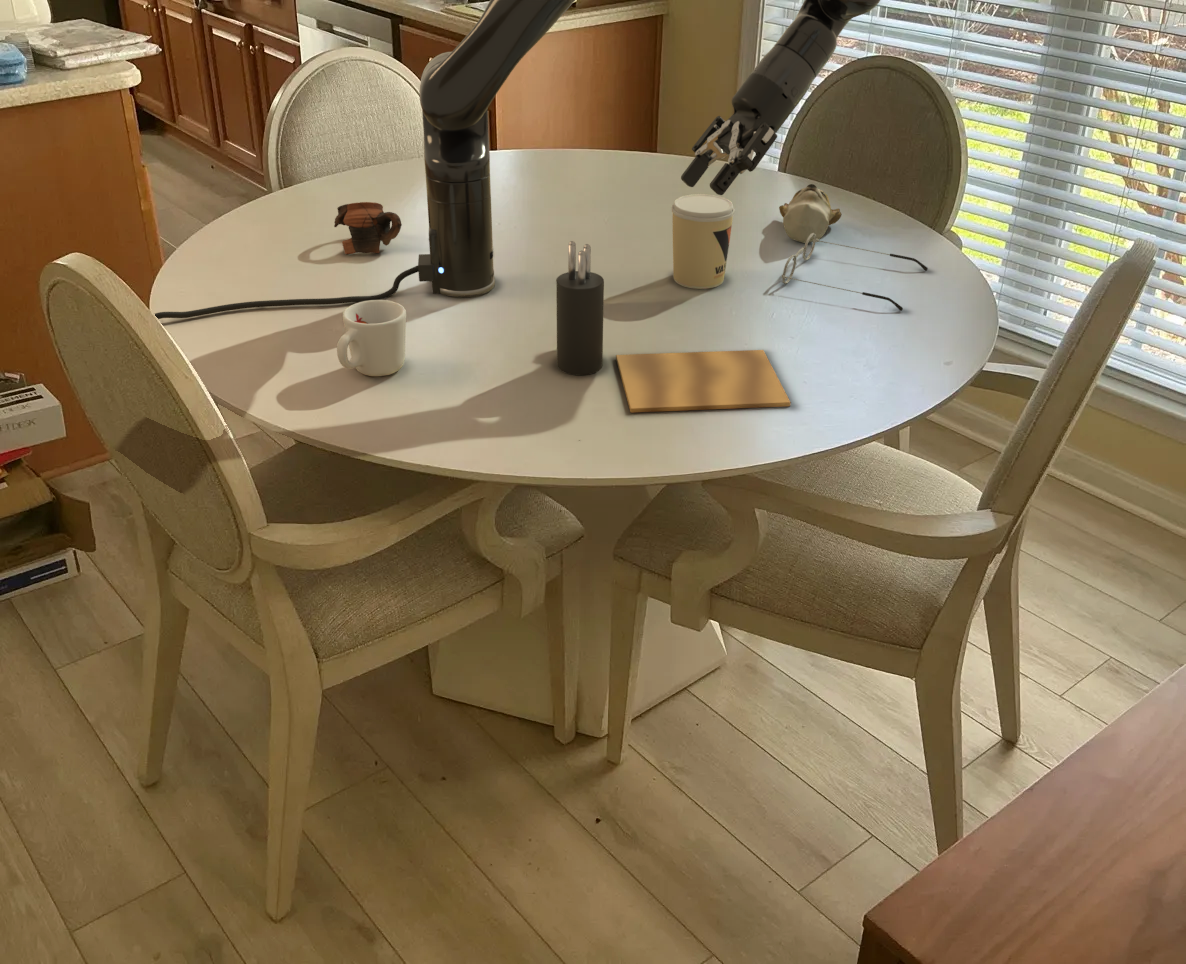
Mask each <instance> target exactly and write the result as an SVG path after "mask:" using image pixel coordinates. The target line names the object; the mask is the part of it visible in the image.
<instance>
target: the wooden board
mask: <svg viewBox="0 0 1186 964" xmlns="http://www.w3.org/2000/svg"><path fill="white" fill-rule="evenodd" d="M615 361H616V364H617V367H618V368H617V369H618V372H619V376H620V378H621V383H622V386H623V391H624V393H625V397H626V401H627V405H628V408H629V413H631V414H633V413H655V412H680V411H681V412H682V411H702V410H703V411H705V410H706V411H707V410H708V411H709V410H728V409H731V410H732V409H754V408H755V409H758V408H783V407H784V408H785V407H791V403H792V402H791V400H790V399H789V396H788V395H787V393H786V391H785V389H784V387H783V385H782V382H781V381H780V379H779V377H778V375H777V373H776V371H775V369H774V368H773V366H772V364H771V362H770V360H769V358H768V356H767V354H766V352H765V350H764V349H748V350H745V349H744V350H722V351H721V350H720V351H716V350H715V351H696V352H695V351H693V352H691V351H690V352H689V351H687V352H663V353H661V352H660V353H636V354H635V353H634V354H633V353H631V354H616V355H615Z"/></svg>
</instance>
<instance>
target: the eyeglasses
mask: <svg viewBox="0 0 1186 964" xmlns="http://www.w3.org/2000/svg"><path fill="white" fill-rule="evenodd" d="M812 236H813V242H812V245H811V249H810V251H809V253H808V255H807V249H808V244H809V243H810V242H809V240H810V238H811V237H812ZM819 242H821V243H825V244H831V245H836V246H840V247H846V248H851V249H855V250H861V251H865V252H872V253H876V254H881V255H882V254H883V255H887V256H889V257H892V258H898V259H904V260H907V261H912V262H914V263H917V264H918V265H919V266H920V268H922V270H924V271H925V272H927V271H928V269H929V268H928V267H927V266H926V265H925V264H923V263H922V262H920V261H919V260H918V259H916V258H914V257H910V256H905V255H901V254H894V253H886V252H880V251H874V250H870V249H866V248H865V249H864V248H858V247H854V246H850V245H844V244H839V243H835V242H829V241H824V240H820V239H819V240H818V239H816V234H815V233H812V234H810V236H809V237H808V238H807V240H806V243H804V246H802V247H801V248H800V249H799V250H798V251H796V253H795V254H791V255H790V256H789V257H788V258H787V260H786V262H785V265H784V267H783V271H782V275H781V280H782V283H783V284H786V285H787V284H788V283H789V282H790V281H791V280H793V281H798V282H803V283H809V284H813V285H818V286H823V287H828V288H832V289H836V290H837V289H838V290H842V291H848V292H851V293H856V294H861V295H863V296H867V297H871V298H876V299H881V300H885V301H888V302H890V303H891V304H892V305H894V306H895V307H896V308H897V310H899V311H900V312H902V311H903V310H904V308H903V306H901V305H900V304H899V303H897V302H896V301H895V300H893V299H892V298H890V297H888V296H884V295H879V294H875V293H869V292H860V291H856V290H850V289H846V288H840V287H837V286H836V287H835V286H831V285H826V284H821V283H816V282H811V281H807V280H802V279H799V278H798V279H797V278H793V275H794V273H795V270H796V266H797V264H798V263H797V258H798V257H799V256H800V255H801V254H802V260H804V261H808V260H810V258H811V257H812V255H813V252H814V251H815V250H814V249H815V246H816V243H819ZM806 255H807V257H806ZM791 261H792V262H793V263H792V268H791V272H790V275H789V276H787V275H786V273H787V269H788V267H789V264H790V262H791Z"/></svg>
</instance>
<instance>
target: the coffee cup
mask: <svg viewBox="0 0 1186 964" xmlns="http://www.w3.org/2000/svg"><path fill="white" fill-rule="evenodd" d="M735 210H736V209H735V207H734V204H733V202H732V201H731V200H730V199H728V198H726V197H723V196H721V195H717V194H716V195H715V194H714V195H713V194H707V193H695V194H692V193H691V194H686V195H682V196H679V197H677V198H676V199H675V200H674V201H673V204H671V213H672V266H673V267H672V270H673V271H672V272H673V280H674V282H675V283H676V284H678V285H680V286H682V287H685V288H689V289H694V290H707V289H713V288H716V287H719V286H720V285H722V284H723V282H724V280H725V274H726V269H727V268H726V267H727V261H728V255H729V248H730V241H731V235H732V227H733V219H734V215H735V212H736V211H735Z"/></svg>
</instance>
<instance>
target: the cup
mask: <svg viewBox="0 0 1186 964" xmlns="http://www.w3.org/2000/svg"><path fill="white" fill-rule="evenodd" d="M342 322H343V326H344V331H345V332H344V333H343V334H342V335H341V336H340V338H339V339H338V342H337V344H336V354H337V359H338V361H339V364H340V365H341V366H342V367H344V368H346V369H348V370H349V369H356V370H357V371H358V372H359V373H360V374H362V375H365V376H370V377H386V376H389V375H393V374H395V373H396V372H398V371H400V370H401V369H402V367H403V365H404V364H405V359H406V337H407V336H406V335H407V310H406V308H405V307H404V306H403V305H402V304H400V303H398V302H395V301H392V300H387V299H386V300H385V299H380V300H369V301H363V302H355V303H354V304H351V305H349V306H348V307H347V308H345V309H344V310H343V313H342ZM348 348H349V352H350V359H349V357H348Z"/></svg>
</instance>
